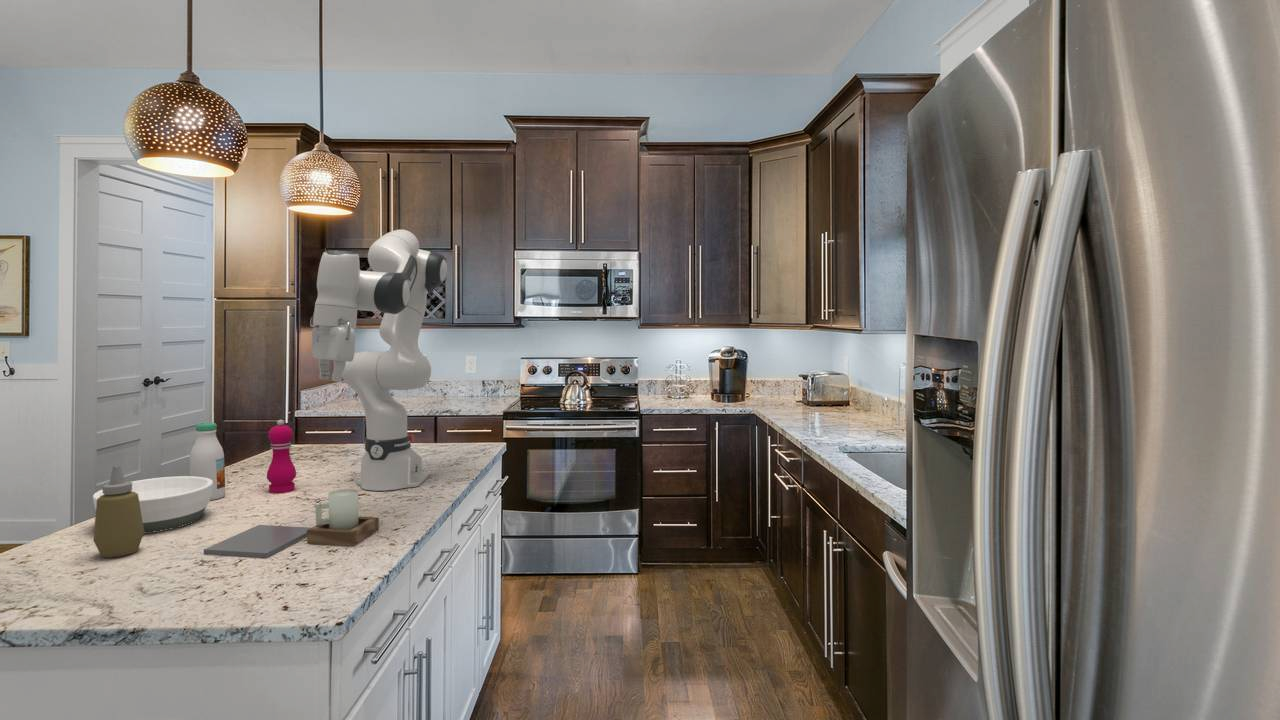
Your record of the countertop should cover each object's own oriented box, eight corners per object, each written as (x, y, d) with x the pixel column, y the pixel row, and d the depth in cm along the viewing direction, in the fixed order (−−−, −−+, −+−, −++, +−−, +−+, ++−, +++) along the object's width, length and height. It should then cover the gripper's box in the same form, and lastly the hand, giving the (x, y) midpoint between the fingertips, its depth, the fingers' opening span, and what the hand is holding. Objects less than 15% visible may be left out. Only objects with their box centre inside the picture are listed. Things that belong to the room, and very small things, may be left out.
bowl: (71, 542, 136) (70, 504, 136) (123, 512, 158) (122, 478, 157) (193, 533, 143) (192, 497, 142) (227, 505, 164) (226, 473, 164)
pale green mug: (359, 531, 145) (358, 488, 145) (358, 539, 140) (358, 494, 139) (317, 535, 142) (316, 491, 142) (315, 544, 137) (314, 498, 136)
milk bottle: (208, 502, 166) (205, 426, 165) (183, 500, 168) (180, 425, 166) (232, 495, 174) (230, 422, 172) (208, 493, 175) (206, 421, 174)
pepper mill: (287, 494, 175) (285, 421, 174) (261, 493, 175) (259, 421, 174) (301, 487, 182) (300, 417, 181) (276, 486, 182) (275, 417, 181)
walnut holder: (336, 528, 147) (335, 515, 147) (378, 530, 146) (378, 517, 146) (307, 543, 137) (306, 530, 137) (352, 546, 136) (352, 532, 136)
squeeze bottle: (102, 549, 132) (99, 463, 131) (150, 544, 136) (147, 460, 134) (87, 563, 125) (83, 472, 124) (137, 557, 128) (134, 469, 127)
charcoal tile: (259, 528, 146) (259, 524, 146) (316, 532, 144) (316, 527, 144) (203, 554, 130) (203, 549, 130) (266, 558, 129) (266, 553, 129)
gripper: (364, 320, 140) (359, 383, 140) (336, 322, 155) (331, 378, 155) (334, 317, 136) (328, 382, 135) (308, 319, 151) (303, 377, 151)
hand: (330, 380), depth 145 cm, fingers open, 8 cm apart
